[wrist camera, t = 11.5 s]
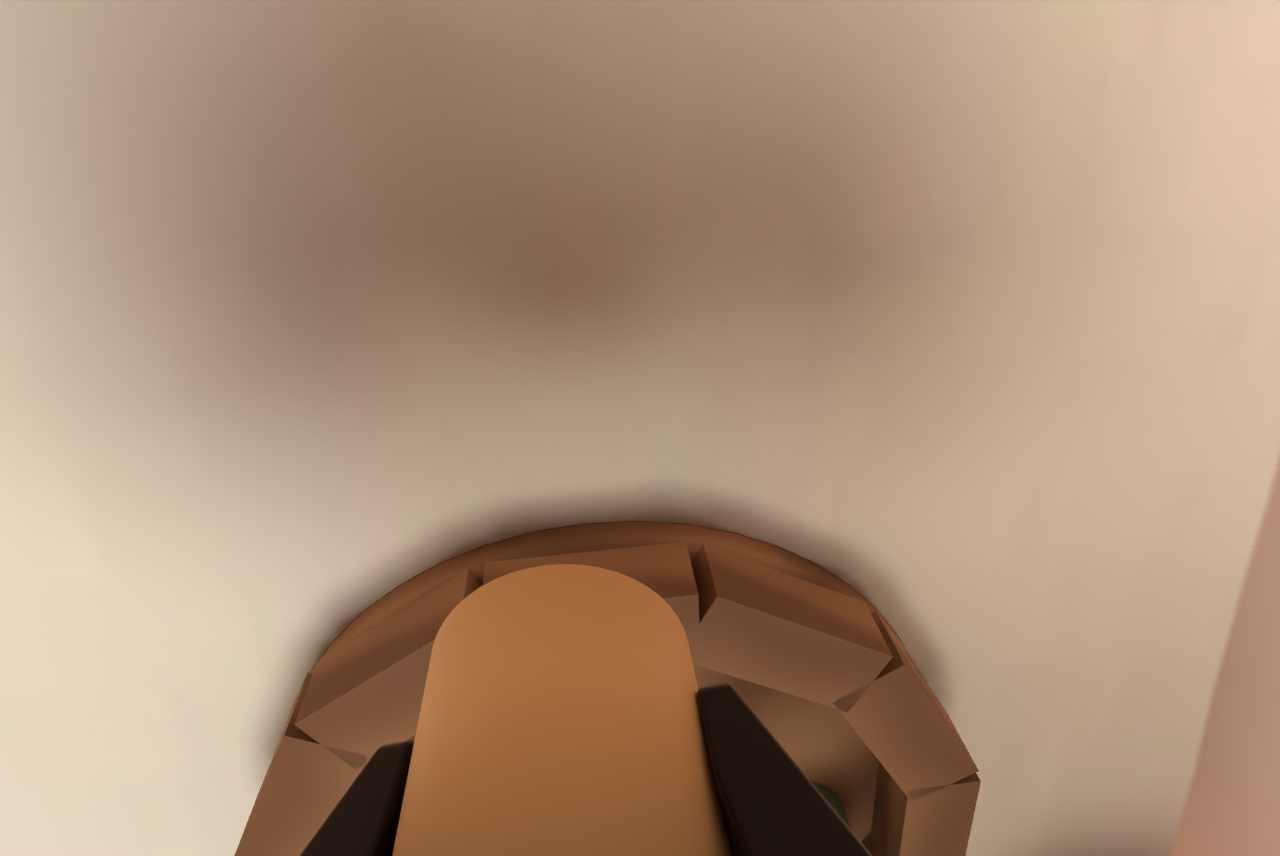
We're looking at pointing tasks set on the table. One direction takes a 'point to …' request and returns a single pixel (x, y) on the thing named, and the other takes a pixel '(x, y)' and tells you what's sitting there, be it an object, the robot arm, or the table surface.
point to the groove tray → (721, 653)
